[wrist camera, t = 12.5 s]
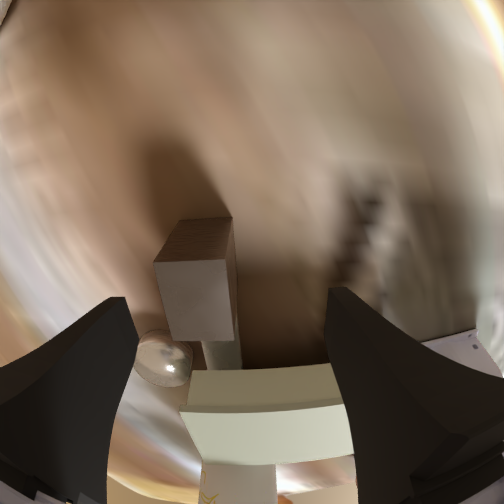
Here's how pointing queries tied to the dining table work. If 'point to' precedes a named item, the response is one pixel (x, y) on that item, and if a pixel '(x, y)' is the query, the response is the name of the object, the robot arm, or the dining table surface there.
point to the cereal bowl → (4, 8)
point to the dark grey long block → (202, 289)
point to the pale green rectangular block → (267, 415)
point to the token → (163, 359)
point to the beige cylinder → (238, 484)
